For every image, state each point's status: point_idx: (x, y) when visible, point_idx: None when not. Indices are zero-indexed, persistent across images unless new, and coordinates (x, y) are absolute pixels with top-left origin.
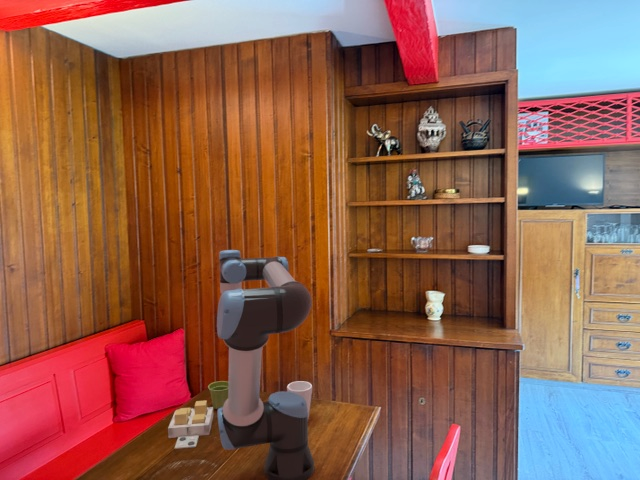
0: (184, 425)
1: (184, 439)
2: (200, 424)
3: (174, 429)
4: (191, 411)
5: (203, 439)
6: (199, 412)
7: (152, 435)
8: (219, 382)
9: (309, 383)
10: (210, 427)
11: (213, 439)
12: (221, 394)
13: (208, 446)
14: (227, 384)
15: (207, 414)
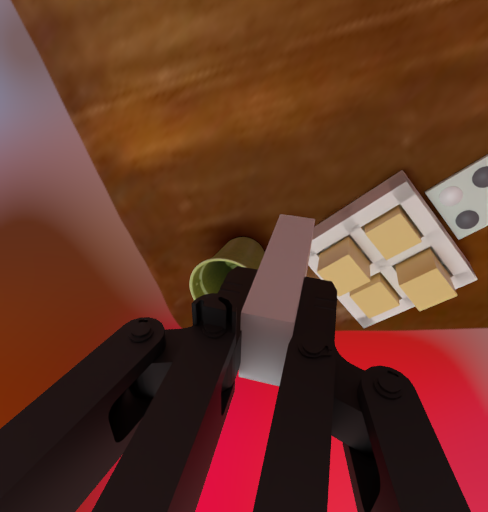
0: (441, 248)
1: (469, 212)
2: (414, 208)
3: (466, 262)
4: None
5: (436, 165)
6: (360, 256)
7: (470, 306)
8: None
9: None
10: (368, 193)
11: (423, 135)
12: (248, 263)
13: (473, 115)
14: (196, 284)
15: (345, 234)
